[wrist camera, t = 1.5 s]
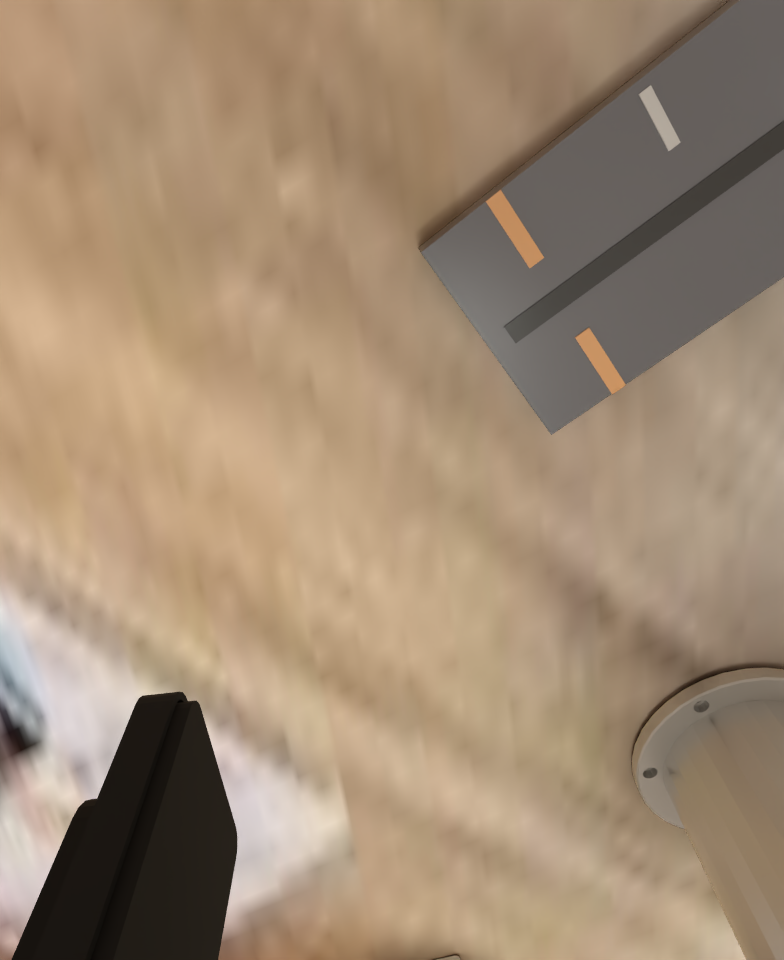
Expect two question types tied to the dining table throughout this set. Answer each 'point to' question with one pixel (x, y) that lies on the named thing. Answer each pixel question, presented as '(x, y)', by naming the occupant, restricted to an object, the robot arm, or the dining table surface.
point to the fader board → (632, 220)
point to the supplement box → (450, 958)
